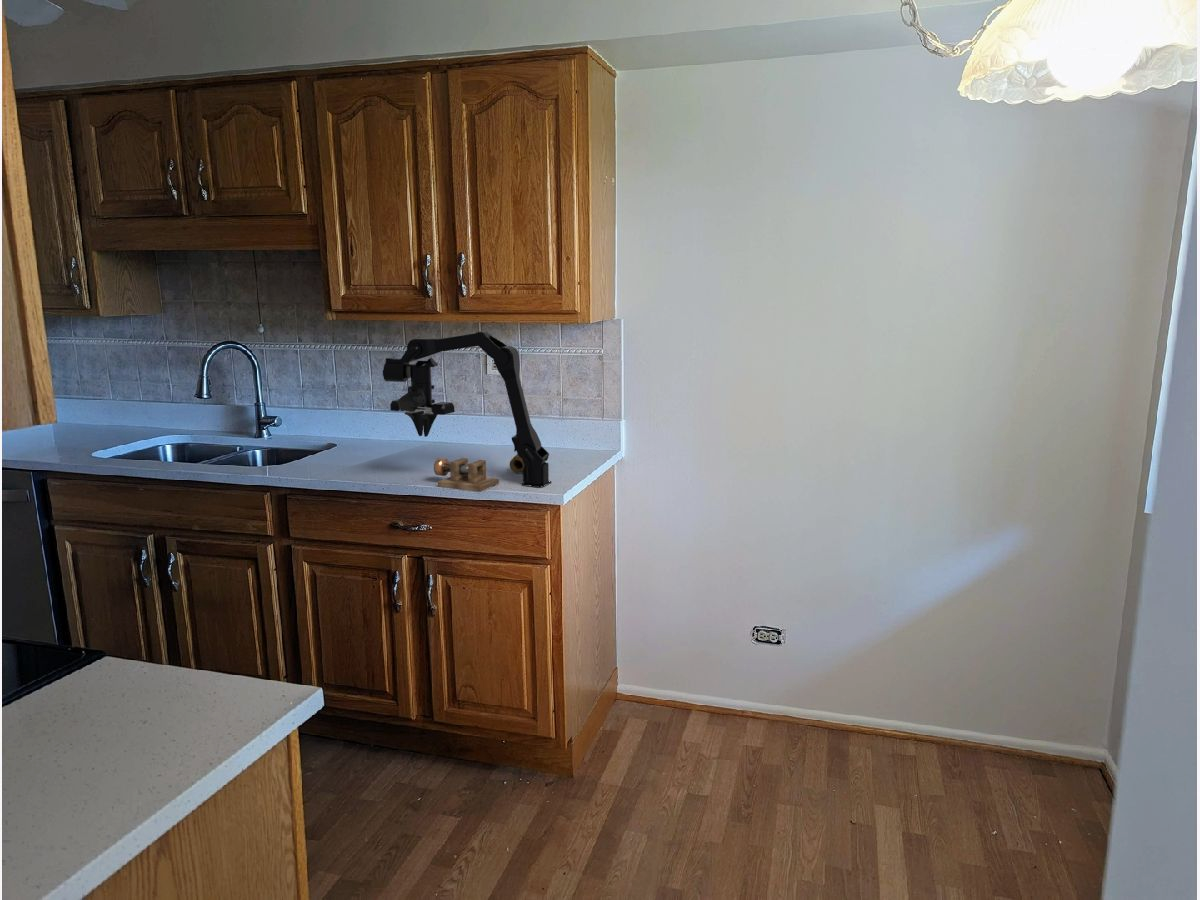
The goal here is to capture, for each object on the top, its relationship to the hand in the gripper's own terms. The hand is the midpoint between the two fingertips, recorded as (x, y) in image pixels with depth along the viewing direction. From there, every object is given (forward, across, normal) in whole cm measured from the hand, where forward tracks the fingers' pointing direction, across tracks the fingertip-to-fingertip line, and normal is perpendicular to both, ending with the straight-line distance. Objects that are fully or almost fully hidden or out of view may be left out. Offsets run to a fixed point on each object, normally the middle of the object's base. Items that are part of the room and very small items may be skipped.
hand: (423, 436), depth 247 cm
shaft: (+11, +11, 0) cm, 16 cm away
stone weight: (+13, +20, +25) cm, 35 cm away
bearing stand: (+13, +15, 0) cm, 20 cm away
